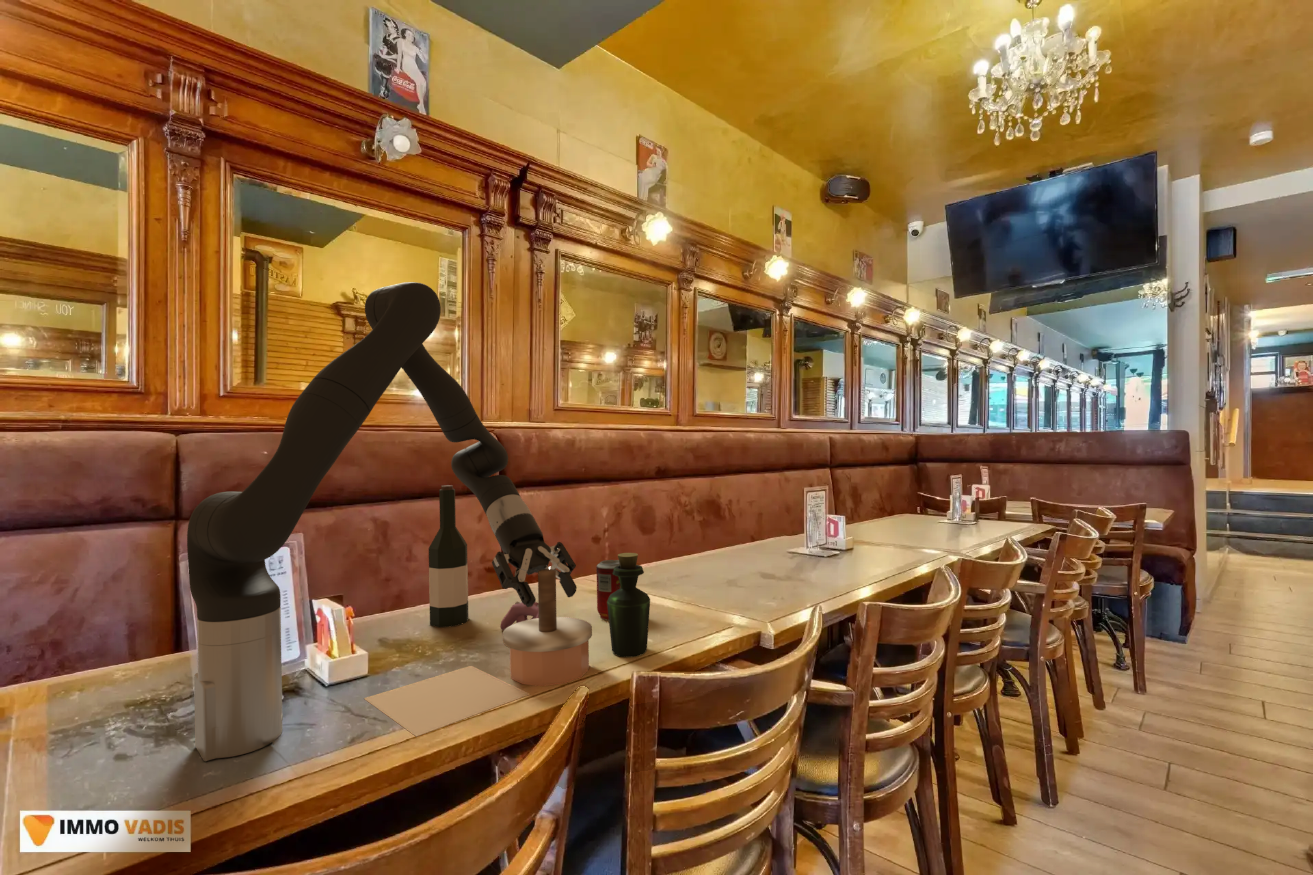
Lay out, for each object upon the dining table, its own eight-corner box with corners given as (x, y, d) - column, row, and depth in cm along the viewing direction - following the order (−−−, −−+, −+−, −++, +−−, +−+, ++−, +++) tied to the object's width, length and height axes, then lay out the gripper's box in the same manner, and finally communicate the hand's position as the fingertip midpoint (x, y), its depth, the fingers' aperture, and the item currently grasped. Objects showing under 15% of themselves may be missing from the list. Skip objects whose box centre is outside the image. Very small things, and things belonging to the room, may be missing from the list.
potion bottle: (647, 642, 118) (646, 549, 118) (654, 657, 110) (653, 557, 110) (605, 645, 117) (604, 551, 117) (609, 660, 109) (608, 559, 109)
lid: (537, 658, 93) (536, 585, 93) (485, 638, 104) (484, 572, 104) (610, 634, 104) (608, 569, 104) (556, 618, 114) (555, 558, 115)
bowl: (540, 694, 95) (539, 655, 95) (495, 673, 104) (494, 637, 104) (603, 670, 104) (602, 635, 104) (557, 653, 113) (556, 620, 113)
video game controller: (546, 640, 126) (555, 605, 128) (532, 635, 122) (542, 600, 125) (510, 633, 131) (520, 600, 133) (496, 628, 127) (507, 595, 130)
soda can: (622, 622, 131) (621, 565, 132) (592, 620, 133) (591, 564, 133) (633, 613, 138) (632, 559, 138) (604, 611, 140) (602, 558, 140)
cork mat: (416, 739, 81) (416, 736, 81) (363, 700, 93) (363, 698, 93) (530, 696, 94) (530, 693, 94) (470, 667, 106) (470, 665, 106)
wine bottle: (456, 628, 129) (454, 487, 130) (421, 626, 131) (419, 487, 131) (476, 616, 138) (473, 484, 138) (442, 615, 139) (440, 484, 139)
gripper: (486, 516, 104) (526, 594, 96) (554, 508, 114) (595, 578, 106) (471, 543, 108) (508, 621, 100) (538, 533, 118) (576, 603, 110)
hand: (553, 599), depth 103 cm, fingers open, 8 cm apart
